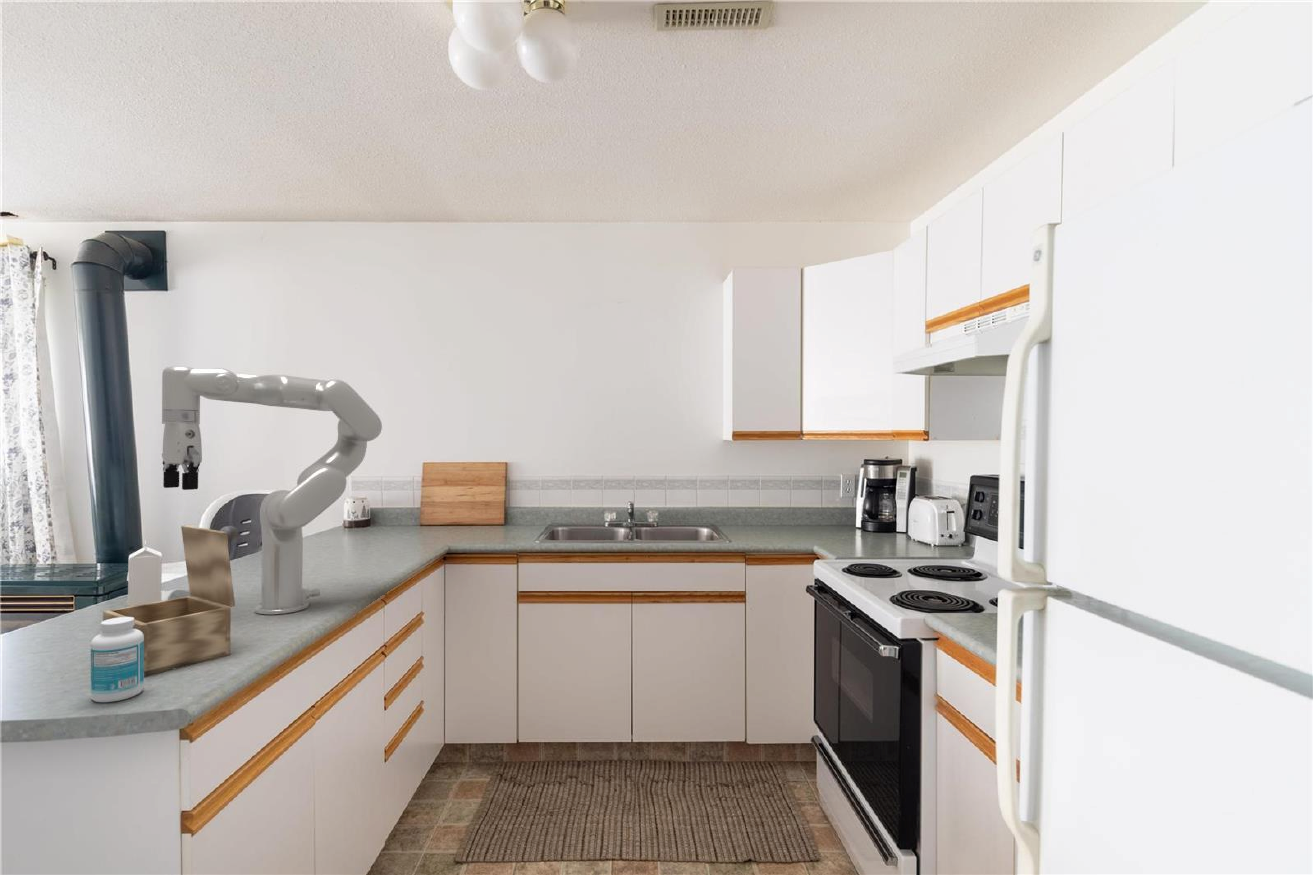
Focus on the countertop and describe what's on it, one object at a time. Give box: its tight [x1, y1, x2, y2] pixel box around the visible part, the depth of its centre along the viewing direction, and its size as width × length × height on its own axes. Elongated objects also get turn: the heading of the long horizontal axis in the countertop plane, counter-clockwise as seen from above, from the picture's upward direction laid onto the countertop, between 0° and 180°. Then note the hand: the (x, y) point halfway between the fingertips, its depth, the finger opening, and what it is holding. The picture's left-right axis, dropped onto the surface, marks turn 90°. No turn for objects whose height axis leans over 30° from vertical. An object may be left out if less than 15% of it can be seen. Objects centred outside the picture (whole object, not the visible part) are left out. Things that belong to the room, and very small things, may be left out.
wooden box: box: [102, 596, 232, 678], centre depth 139 cm, size 16×18×10 cm
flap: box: [181, 525, 240, 608], centre depth 148 cm, size 16×18×7 cm
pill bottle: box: [90, 617, 145, 703], centre depth 119 cm, size 8×7×14 cm
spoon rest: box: [161, 588, 204, 601], centre depth 175 cm, size 24×12×7 cm, turn 17°
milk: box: [127, 539, 163, 607], centre depth 152 cm, size 6×6×22 cm
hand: (180, 488), depth 162 cm, fingers open, 9 cm apart
